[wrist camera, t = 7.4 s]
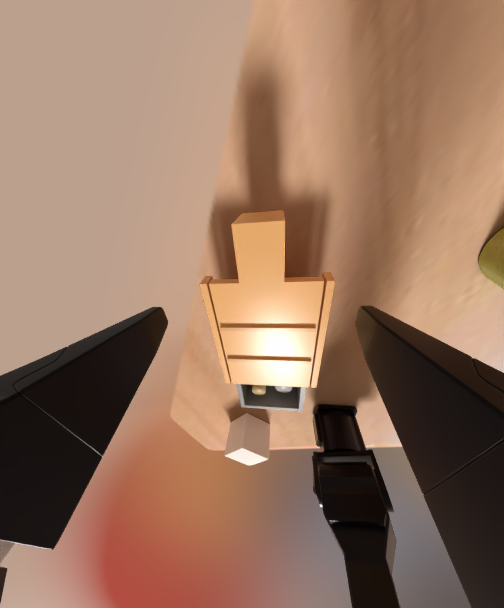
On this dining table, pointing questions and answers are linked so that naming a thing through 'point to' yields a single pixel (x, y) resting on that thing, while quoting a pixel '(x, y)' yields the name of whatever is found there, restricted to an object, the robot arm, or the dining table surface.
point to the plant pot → (493, 259)
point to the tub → (271, 397)
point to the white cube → (248, 440)
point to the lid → (267, 310)
